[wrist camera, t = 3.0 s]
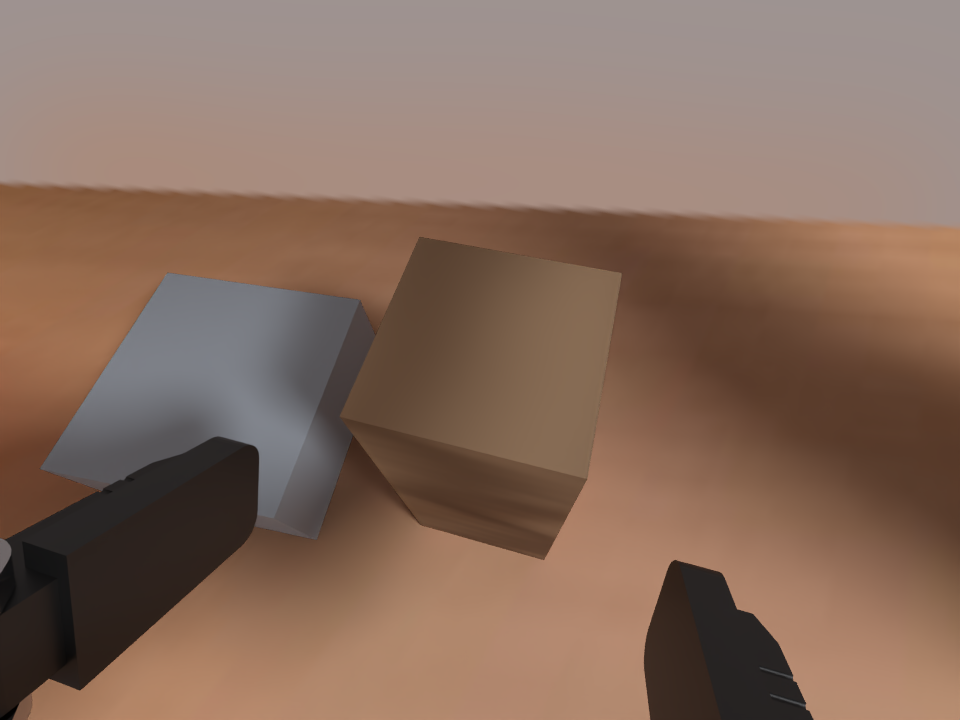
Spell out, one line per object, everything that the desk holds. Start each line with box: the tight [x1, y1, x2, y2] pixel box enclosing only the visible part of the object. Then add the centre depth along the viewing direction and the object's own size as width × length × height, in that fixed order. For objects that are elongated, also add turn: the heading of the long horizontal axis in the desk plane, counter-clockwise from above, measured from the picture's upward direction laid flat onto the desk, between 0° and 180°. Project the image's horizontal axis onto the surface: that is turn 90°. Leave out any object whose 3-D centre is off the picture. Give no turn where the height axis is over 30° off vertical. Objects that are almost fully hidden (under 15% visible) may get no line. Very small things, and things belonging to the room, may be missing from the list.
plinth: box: [40, 273, 375, 540], centre depth 18 cm, size 8×8×4 cm
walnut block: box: [339, 237, 622, 560], centre depth 14 cm, size 4×4×10 cm
